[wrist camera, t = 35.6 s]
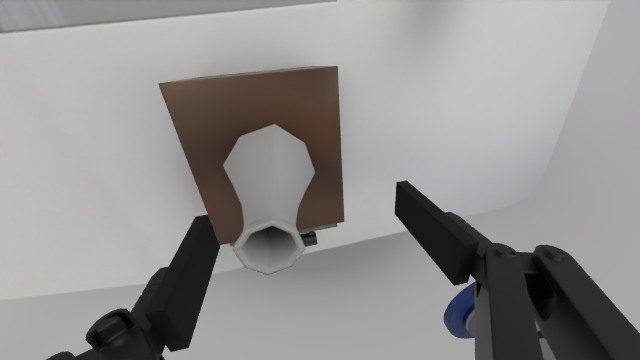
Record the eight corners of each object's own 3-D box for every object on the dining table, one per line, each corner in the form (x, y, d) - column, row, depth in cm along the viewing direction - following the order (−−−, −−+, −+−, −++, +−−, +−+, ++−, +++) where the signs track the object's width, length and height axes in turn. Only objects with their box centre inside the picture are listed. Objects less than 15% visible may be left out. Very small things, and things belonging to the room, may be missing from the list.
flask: (267, 216, 22) (264, 318, 13) (206, 162, 18) (146, 251, 10) (328, 171, 21) (369, 249, 12) (275, 106, 18) (279, 147, 9)
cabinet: (325, 181, 32) (344, 221, 24) (234, 195, 31) (219, 245, 22) (316, 66, 25) (337, 66, 17) (198, 77, 24) (157, 83, 15)
